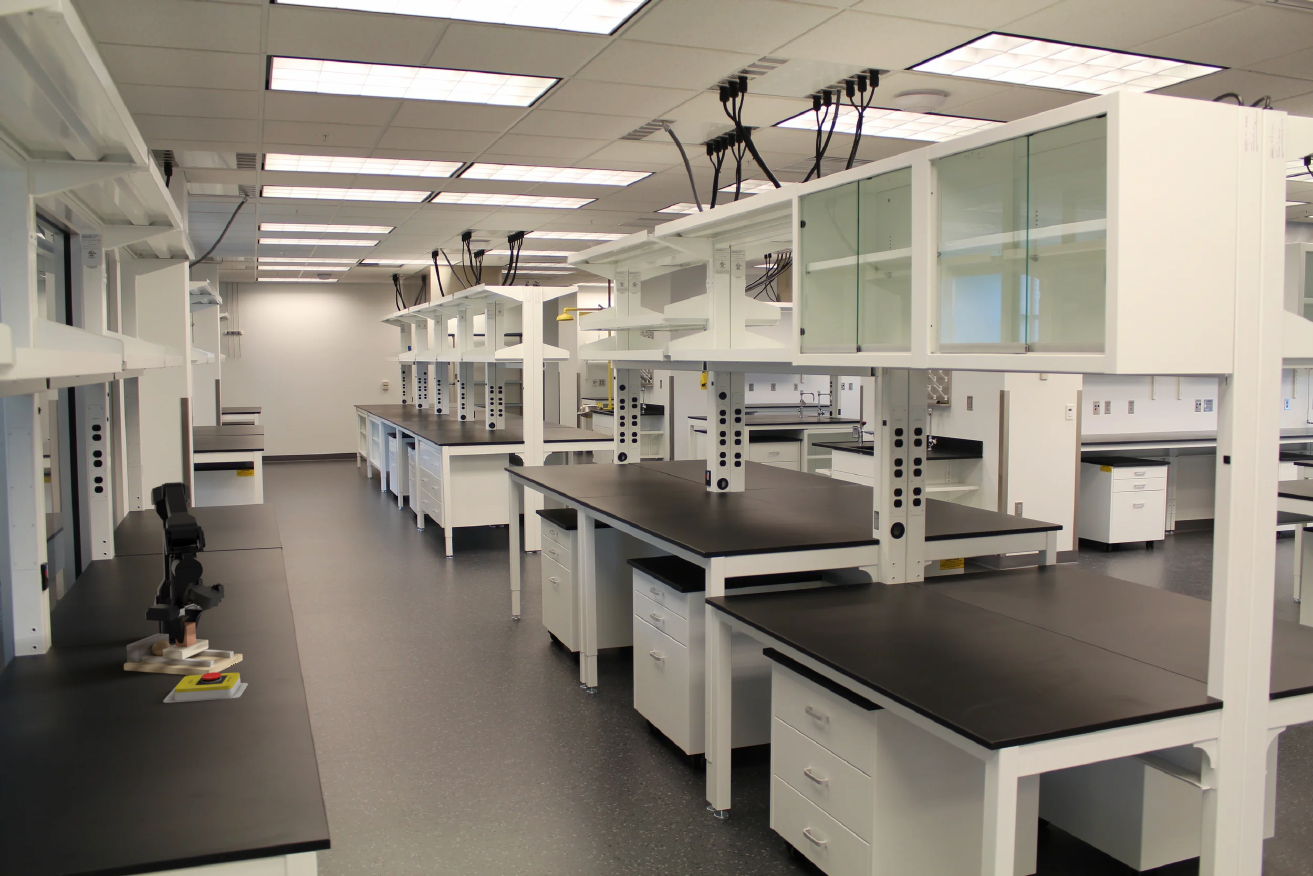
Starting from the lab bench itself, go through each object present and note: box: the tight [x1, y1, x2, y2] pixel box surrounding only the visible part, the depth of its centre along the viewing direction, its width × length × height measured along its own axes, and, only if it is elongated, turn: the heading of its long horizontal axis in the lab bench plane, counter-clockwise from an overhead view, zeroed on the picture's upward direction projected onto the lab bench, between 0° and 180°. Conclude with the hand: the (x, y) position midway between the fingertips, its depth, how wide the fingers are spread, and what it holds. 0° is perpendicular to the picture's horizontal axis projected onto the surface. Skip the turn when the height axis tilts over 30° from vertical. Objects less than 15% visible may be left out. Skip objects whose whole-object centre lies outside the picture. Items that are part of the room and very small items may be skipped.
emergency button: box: [162, 672, 248, 704], centre depth 195 cm, size 9×4×15 cm
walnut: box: [152, 640, 172, 657], centre depth 214 cm, size 4×4×4 cm
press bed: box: [123, 632, 244, 676], centre depth 213 cm, size 22×12×6 cm, turn 79°
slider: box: [163, 622, 209, 660], centre depth 213 cm, size 5×9×7 cm, turn 169°
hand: (185, 641), depth 213 cm, fingers closed on slider, 3 cm apart
